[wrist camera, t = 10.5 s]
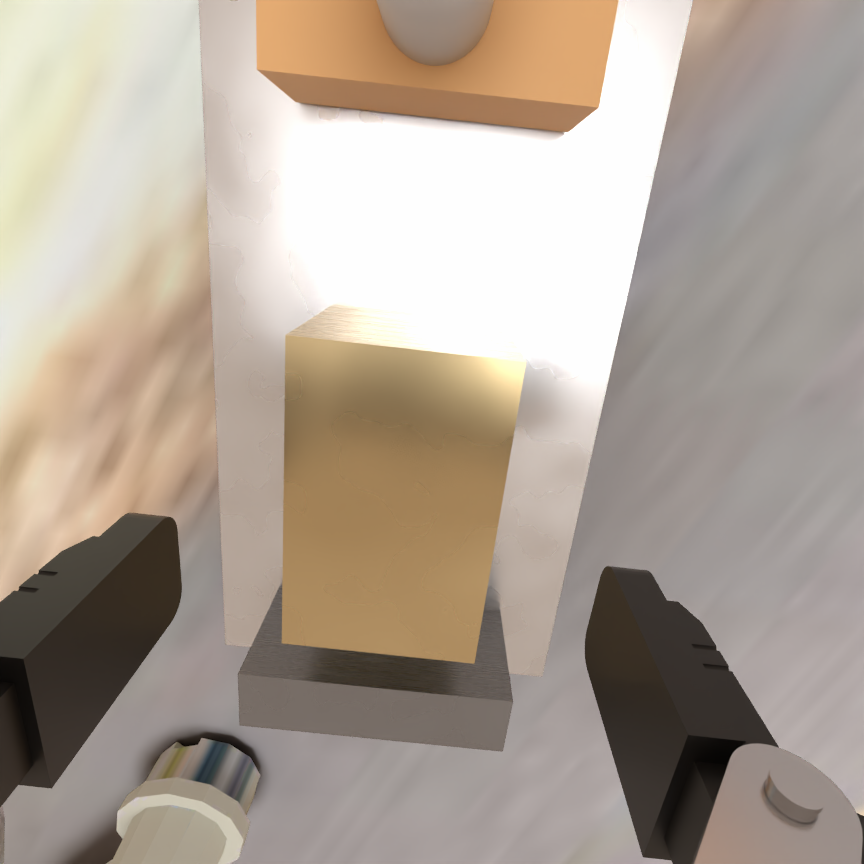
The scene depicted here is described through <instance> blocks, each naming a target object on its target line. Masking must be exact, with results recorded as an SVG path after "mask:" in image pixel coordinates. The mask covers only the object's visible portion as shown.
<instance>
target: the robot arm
mask: <svg viewBox="0 0 864 864" xmlns="http://www.w3.org/2000/svg"><path fill="white" fill-rule="evenodd" d="M181 592H182V583H181V570H180V557H179V545H178V532H177V525H176V522H175V520H174V519H173V518H171V517H165V516H156V515H147V514H138V513H127V514H125V515H124V516H123V517H121V518H120V519H119V520H118V521H117V522H116V523H114V524H113V525H112V526H111V527H110V528H109V529H108V530H106V531H105V532H104V533H103V534H102V535H101V536H100V537H95V536H93V537H91V538H89V539H86V540H84V541H82V542H80V543H78V544H76V545H74V546H72V547H70V548H68V549H66V550H64V551H62V552H61V553H59V554H58V555H57V556H56V557H54V558H53V559H52V560H51V561H50V562H48V563H47V564H46V565H45V566H44V567H42V568H41V569H40V570H39V573H38V574H34V575H33V576H31V577H30V578H29V579H28V580H27V581H25V582H24V583H23V584H22V585H21V586H19V590H18V591H13V592H12V593H11V594H10V595H8V596H7V597H6V598H5V599H4V600H2V601H1V602H0V864H4V831H5V817H4V811H3V807H2V805H3V803H4V802H5V801H6V799H7V798H8V797H9V796H10V794H11V793H12V792H13V791H14V789H15V788H16V787H17V785H26V786H35V787H44V788H52V787H53V786H54V784H55V783H56V782H57V780H58V779H59V777H60V776H61V775H62V773H63V772H64V770H65V769H66V768H67V766H68V765H69V764H70V762H71V761H72V759H73V758H74V757H75V755H76V754H77V752H78V751H79V750H80V748H81V747H82V745H83V744H84V743H85V741H86V740H87V739H88V737H89V736H90V734H91V733H92V732H93V730H94V729H95V727H96V726H97V725H98V723H99V722H100V720H101V719H102V718H103V716H104V715H105V713H106V712H107V711H108V709H109V708H110V707H111V705H112V704H113V702H114V701H115V700H116V698H117V697H118V695H119V694H120V693H121V691H122V690H123V688H124V687H125V686H126V684H127V683H128V682H129V680H130V679H131V677H132V676H133V675H134V673H135V672H136V670H137V669H138V668H139V666H140V665H141V663H142V662H143V661H144V659H145V658H146V657H147V655H148V654H149V652H150V651H151V650H152V648H153V647H154V645H155V644H156V643H157V641H158V640H159V638H160V637H161V636H162V634H163V633H164V632H165V630H166V629H167V627H168V626H169V625H170V623H171V622H172V620H173V618H174V616H175V614H176V612H177V609H178V607H179V603H180V599H181ZM585 659H586V666H587V670H588V673H589V677H590V680H591V683H592V687H593V690H594V694H595V697H596V700H597V704H598V707H599V710H600V714H601V717H602V721H603V724H604V727H605V731H606V734H607V737H608V741H609V744H610V748H611V751H612V754H613V758H614V761H615V764H616V768H617V771H618V774H619V778H620V781H621V785H622V788H623V791H624V795H625V798H626V801H627V805H628V808H629V812H630V815H631V818H632V822H633V825H634V828H635V832H636V835H637V839H638V842H639V845H640V849H641V852H642V855H643V857H647V858H656V859H665V860H672V862H673V864H864V816H862V815H860V814H858V813H856V811H855V809H854V807H853V806H852V804H851V803H850V801H849V800H848V798H847V797H846V796H845V795H844V793H843V792H842V791H841V790H840V789H839V788H838V786H837V785H836V784H835V783H834V782H833V781H832V780H831V779H829V778H828V777H827V776H826V775H825V774H824V773H823V772H821V771H820V770H819V769H817V768H816V767H815V766H813V765H812V764H810V763H809V762H807V761H806V760H804V759H802V758H801V757H799V756H797V755H795V754H793V753H791V752H789V751H786V750H784V749H781V748H779V747H778V745H777V743H776V742H775V740H774V739H773V737H772V735H771V734H770V732H769V731H768V729H767V727H766V726H765V724H764V722H763V721H762V719H761V718H760V716H759V714H758V713H757V711H756V710H755V708H754V706H753V705H752V703H751V702H750V700H749V698H748V697H747V695H746V693H745V692H744V690H743V689H742V687H741V685H740V684H739V682H738V681H737V679H736V677H735V676H734V674H733V672H731V671H729V669H728V667H729V666H728V664H727V663H726V661H725V660H724V658H723V656H722V655H721V653H720V651H716V645H715V643H714V642H713V640H712V639H711V637H710V635H709V634H708V632H707V631H706V629H705V627H704V626H703V624H702V623H701V622H700V621H699V620H698V619H697V618H696V617H695V616H693V615H692V614H691V613H690V612H689V611H688V610H687V609H685V608H684V607H683V606H682V605H681V604H680V603H679V602H674V601H667V600H666V598H665V596H664V595H663V593H662V591H661V589H660V588H659V586H658V584H657V582H656V580H655V579H654V577H653V575H652V574H651V573H650V572H649V571H647V570H638V569H628V568H619V567H610V566H607V567H605V568H604V570H603V572H602V574H601V577H600V581H599V585H598V589H597V593H596V597H595V601H594V605H593V608H592V612H591V616H590V620H589V624H588V628H587V632H586V639H585Z"/></svg>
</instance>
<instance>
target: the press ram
mask: <svg viewBox="0 0 864 864" xmlns="http://www.w3.org/2000/svg"><path fill="white" fill-rule="evenodd" d="M618 2H619V0H256V50H257V70H258V71H259V72H260V73H261V74H263V75H264V76H265V77H266V78H267V79H269V80H270V81H271V82H272V83H273V84H275V85H276V86H277V87H278V88H279V89H281V90H282V91H283V92H284V93H285V94H287V95H288V96H289V97H290V98H291V99H292V100H294V101H295V102H298V103H307V104H316V105H325V106H335V107H344V108H353V109H362V110H371V111H380V112H389V113H398V114H407V115H416V116H425V117H434V118H443V119H452V120H461V121H470V122H479V123H488V124H497V125H506V126H515V127H524V128H534V129H543V130H552V131H561V132H569V131H571V130H572V129H573V128H574V127H576V126H577V125H578V124H579V123H581V122H582V121H583V120H584V119H586V118H587V117H588V116H589V115H590V114H592V113H593V112H594V111H595V110H597V109H598V108H599V105H600V100H601V94H602V89H603V83H604V78H605V72H606V67H607V62H608V56H609V51H610V45H611V40H612V34H613V29H614V23H615V18H616V12H617V7H618Z"/></svg>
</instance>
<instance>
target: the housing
mask: <svg viewBox="0 0 864 864" xmlns="http://www.w3.org/2000/svg"><path fill="white" fill-rule="evenodd" d="M525 367H526V360H525V359H524V357H523V355H522V354H521V352H520V350H519V349H518V347H517V345H516V344H515V342H514V340H513V339H512V337H511V335H510V334H509V332H508V330H507V328H506V327H505V325H504V323H499V322H490V321H481V320H472V319H463V318H454V317H445V316H437V315H428V314H419V313H410V312H401V311H392V310H383V309H375V308H366V307H357V306H348V305H339V304H333V305H331V306H329V307H328V308H326V309H325V310H323V311H322V312H320V313H319V314H317V315H315V316H314V317H312V318H311V319H309V320H308V321H306V322H305V323H303V324H302V325H300V326H298V327H297V328H295V329H294V330H292V331H291V332H289V333H288V334H286V335H285V411H284V494H283V577H282V643H283V644H292V645H302V646H311V647H321V648H330V649H340V650H349V651H359V652H368V653H378V654H387V655H397V656H406V657H415V658H425V659H434V660H444V661H453V662H463V663H472V664H474V663H475V657H476V652H477V646H478V640H479V634H480V628H481V623H482V617H483V611H484V605H485V599H486V594H487V588H488V582H489V576H490V570H491V565H492V559H493V553H494V547H495V541H496V535H497V530H498V524H499V518H500V512H501V506H502V501H503V495H504V489H505V483H506V477H507V472H508V466H509V460H510V454H511V448H512V443H513V437H514V431H515V425H516V419H517V413H518V408H519V402H520V396H521V390H522V384H523V379H524V373H525Z"/></svg>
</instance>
